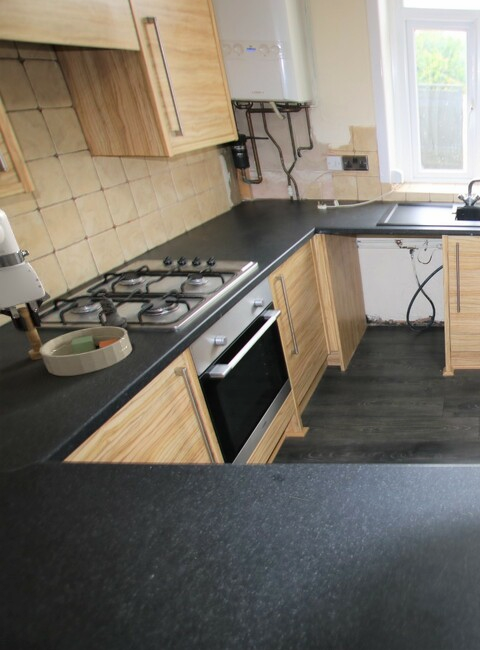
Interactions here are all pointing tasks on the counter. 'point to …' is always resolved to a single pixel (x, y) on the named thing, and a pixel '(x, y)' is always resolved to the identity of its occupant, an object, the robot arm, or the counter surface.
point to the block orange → (107, 342)
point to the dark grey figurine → (112, 314)
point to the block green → (83, 344)
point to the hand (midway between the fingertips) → (29, 327)
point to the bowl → (68, 363)
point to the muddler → (31, 333)
